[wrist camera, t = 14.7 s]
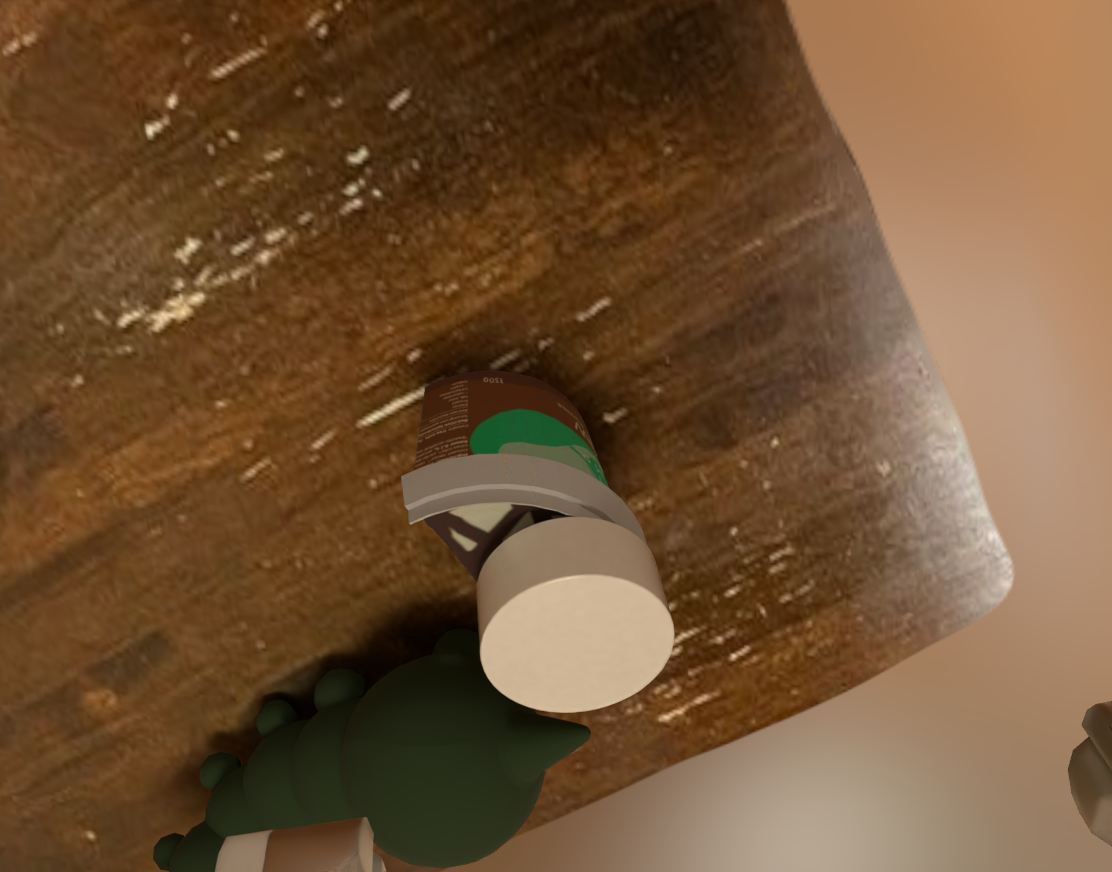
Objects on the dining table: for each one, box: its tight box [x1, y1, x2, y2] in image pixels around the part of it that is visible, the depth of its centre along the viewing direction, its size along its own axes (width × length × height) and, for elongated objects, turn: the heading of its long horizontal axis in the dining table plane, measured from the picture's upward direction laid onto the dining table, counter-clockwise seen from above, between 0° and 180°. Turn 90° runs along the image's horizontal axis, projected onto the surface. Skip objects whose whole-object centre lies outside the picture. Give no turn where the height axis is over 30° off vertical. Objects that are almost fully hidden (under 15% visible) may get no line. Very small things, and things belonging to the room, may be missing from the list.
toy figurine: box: [153, 628, 591, 872], centre depth 45 cm, size 9×19×25 cm
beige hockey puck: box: [476, 517, 674, 713], centre depth 34 cm, size 7×7×3 cm
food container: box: [401, 370, 648, 582], centre depth 39 cm, size 12×6×10 cm, turn 29°
